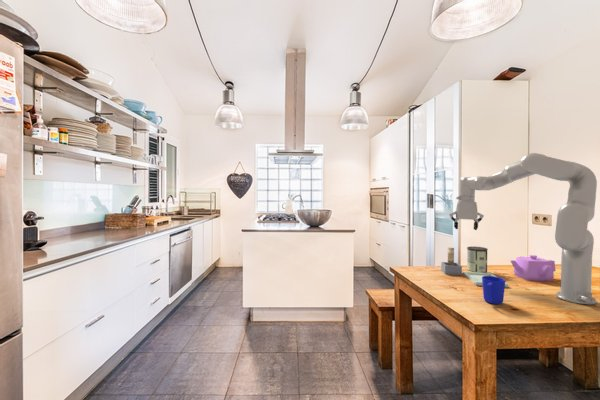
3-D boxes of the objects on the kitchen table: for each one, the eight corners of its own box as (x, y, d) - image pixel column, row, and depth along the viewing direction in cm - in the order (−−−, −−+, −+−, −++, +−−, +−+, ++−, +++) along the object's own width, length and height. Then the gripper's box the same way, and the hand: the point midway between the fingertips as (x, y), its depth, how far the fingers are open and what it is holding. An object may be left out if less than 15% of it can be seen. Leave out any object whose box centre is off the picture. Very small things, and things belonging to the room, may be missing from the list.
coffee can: (474, 268, 175) (475, 245, 175) (491, 273, 166) (491, 248, 166) (462, 270, 172) (463, 247, 171) (479, 274, 162) (479, 250, 162)
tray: (508, 287, 140) (508, 284, 140) (476, 285, 143) (476, 282, 143) (491, 276, 159) (491, 273, 159) (463, 274, 162) (463, 271, 162)
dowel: (454, 273, 164) (454, 248, 163) (448, 272, 164) (448, 248, 164) (452, 271, 167) (453, 247, 166) (446, 271, 167) (447, 247, 167)
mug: (476, 304, 119) (477, 280, 118) (484, 297, 127) (484, 274, 127) (500, 310, 113) (501, 284, 113) (506, 302, 121) (507, 278, 121)
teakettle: (556, 278, 156) (556, 255, 155) (550, 284, 145) (550, 260, 144) (517, 271, 169) (518, 251, 168) (509, 277, 158) (509, 255, 157)
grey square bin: (461, 276, 159) (461, 266, 159) (445, 275, 161) (445, 265, 161) (457, 272, 168) (457, 262, 168) (441, 271, 170) (441, 261, 170)
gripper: (451, 199, 160) (450, 229, 161) (486, 199, 156) (485, 230, 156) (448, 198, 167) (447, 227, 168) (481, 199, 163) (480, 229, 164)
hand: (465, 229), depth 162 cm, fingers open, 9 cm apart
